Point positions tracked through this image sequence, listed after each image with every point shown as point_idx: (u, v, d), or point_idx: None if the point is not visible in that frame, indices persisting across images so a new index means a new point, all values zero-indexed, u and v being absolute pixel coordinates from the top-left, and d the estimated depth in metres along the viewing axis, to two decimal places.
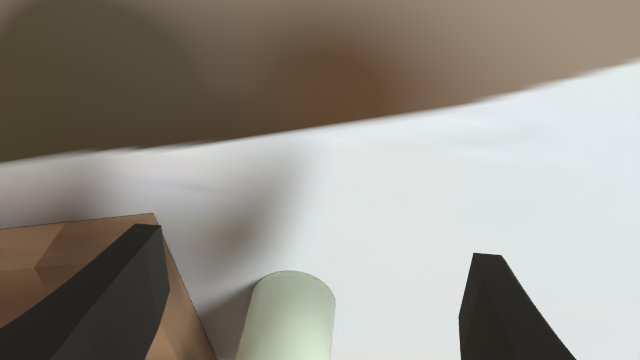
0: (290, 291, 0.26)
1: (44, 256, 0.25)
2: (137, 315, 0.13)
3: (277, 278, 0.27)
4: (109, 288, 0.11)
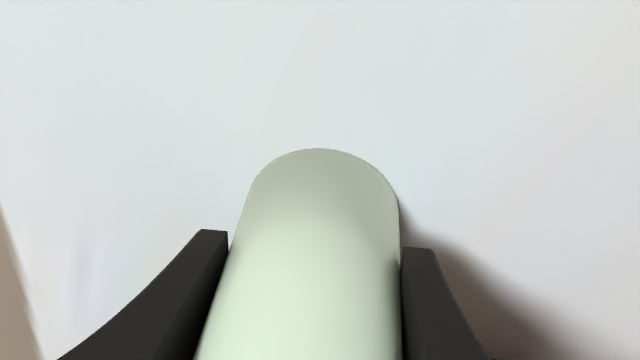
0: (239, 223, 0.14)
1: None
2: None
3: None
4: (189, 296, 0.11)
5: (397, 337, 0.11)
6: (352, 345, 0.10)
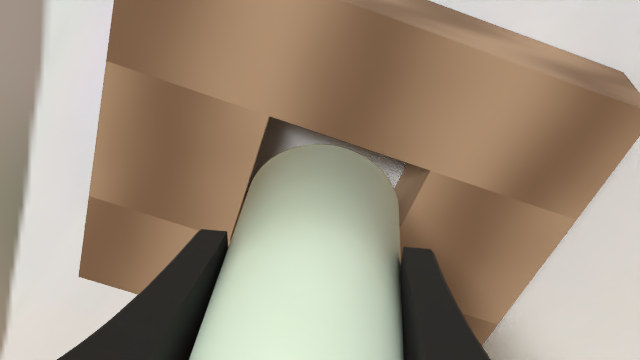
0: None
1: None
2: None
3: None
4: (189, 296, 0.11)
5: (398, 328, 0.11)
6: (353, 332, 0.10)
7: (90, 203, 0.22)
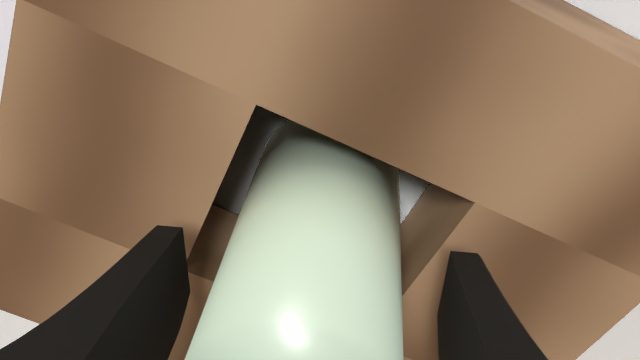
0: None
1: None
2: (160, 317, 0.13)
3: None
4: (135, 291, 0.11)
5: (396, 259, 0.13)
6: (357, 254, 0.11)
7: None
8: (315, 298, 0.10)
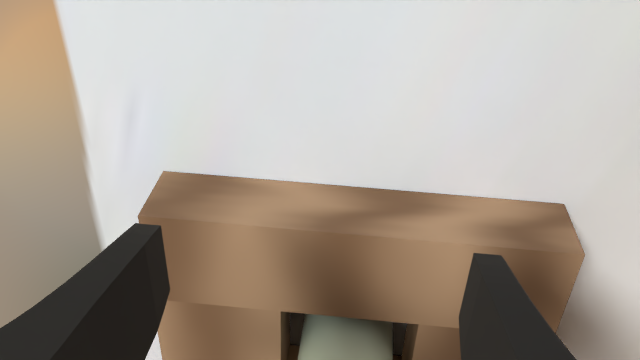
0: None
1: None
2: (137, 315, 0.13)
3: None
4: (109, 288, 0.11)
5: None
6: None
7: None
8: None
